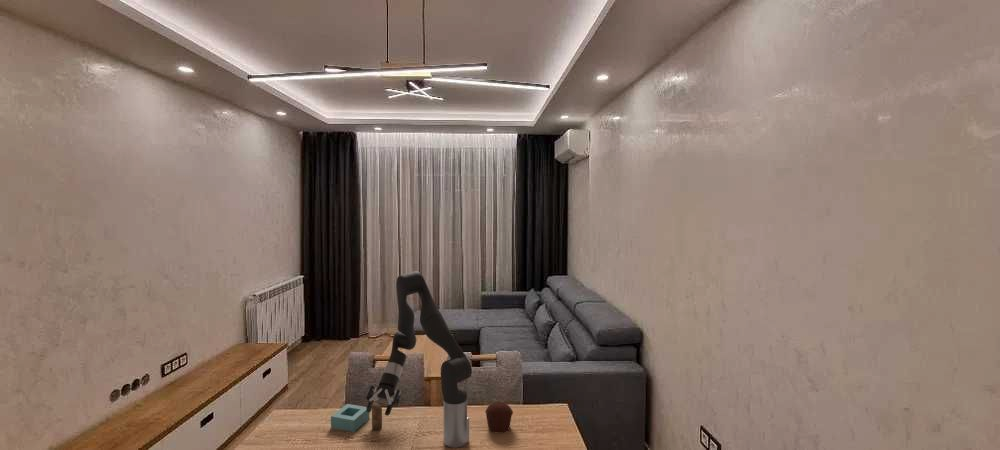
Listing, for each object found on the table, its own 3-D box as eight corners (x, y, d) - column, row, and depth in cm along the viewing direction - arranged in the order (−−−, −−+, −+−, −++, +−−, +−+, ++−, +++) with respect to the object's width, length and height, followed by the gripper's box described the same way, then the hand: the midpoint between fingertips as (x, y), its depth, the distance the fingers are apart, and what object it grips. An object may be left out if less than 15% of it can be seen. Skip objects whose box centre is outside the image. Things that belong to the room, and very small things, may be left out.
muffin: (479, 425, 184) (479, 402, 184) (500, 417, 191) (500, 394, 190) (497, 438, 175) (497, 414, 174) (518, 428, 182) (518, 405, 181)
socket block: (347, 414, 193) (347, 403, 192) (369, 418, 189) (369, 407, 189) (331, 427, 182) (330, 416, 182) (354, 432, 179) (353, 420, 179)
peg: (380, 424, 185) (380, 401, 184) (383, 429, 181) (382, 405, 180) (371, 426, 183) (370, 403, 182) (373, 431, 179) (372, 408, 179)
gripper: (373, 369, 191) (358, 407, 181) (402, 374, 187) (389, 413, 177) (380, 376, 197) (366, 413, 187) (409, 380, 193) (396, 419, 183)
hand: (377, 413), depth 182 cm, fingers open, 8 cm apart
